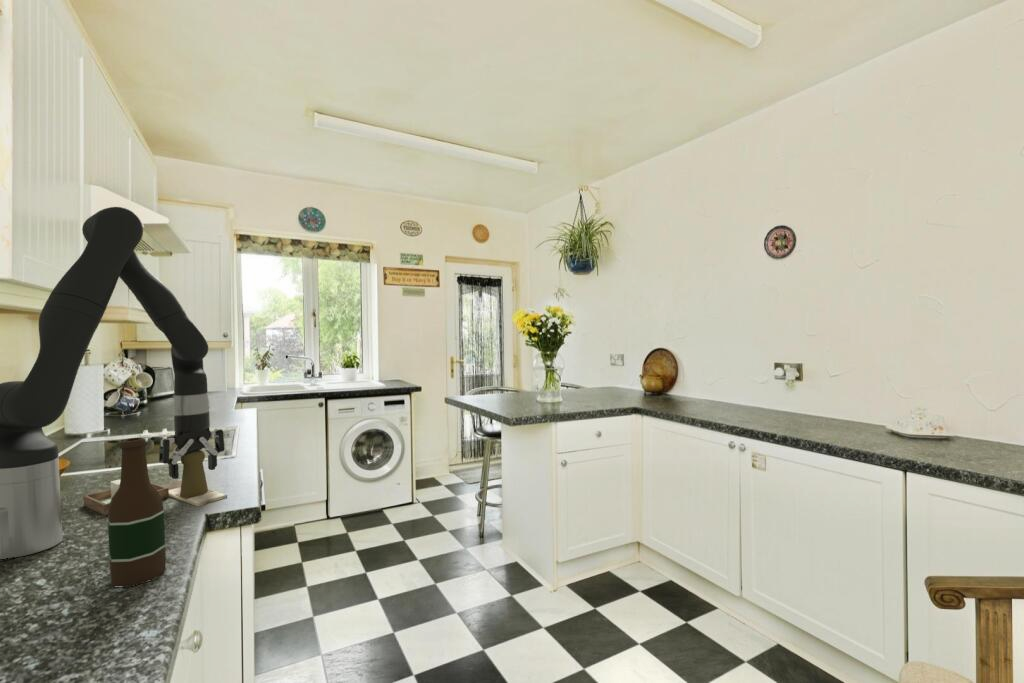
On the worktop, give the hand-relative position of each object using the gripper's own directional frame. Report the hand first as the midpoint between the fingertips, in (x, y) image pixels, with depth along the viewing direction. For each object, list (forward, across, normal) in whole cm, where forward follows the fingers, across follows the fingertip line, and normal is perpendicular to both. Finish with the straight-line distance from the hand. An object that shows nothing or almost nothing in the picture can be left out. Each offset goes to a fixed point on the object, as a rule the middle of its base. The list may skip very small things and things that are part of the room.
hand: (193, 473), depth 120 cm
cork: (+5, 0, 0) cm, 5 cm away
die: (+5, +10, -11) cm, 16 cm away
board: (+6, 0, -3) cm, 7 cm away
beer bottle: (+6, +24, +36) cm, 44 cm away
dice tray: (+6, +10, -11) cm, 16 cm away
